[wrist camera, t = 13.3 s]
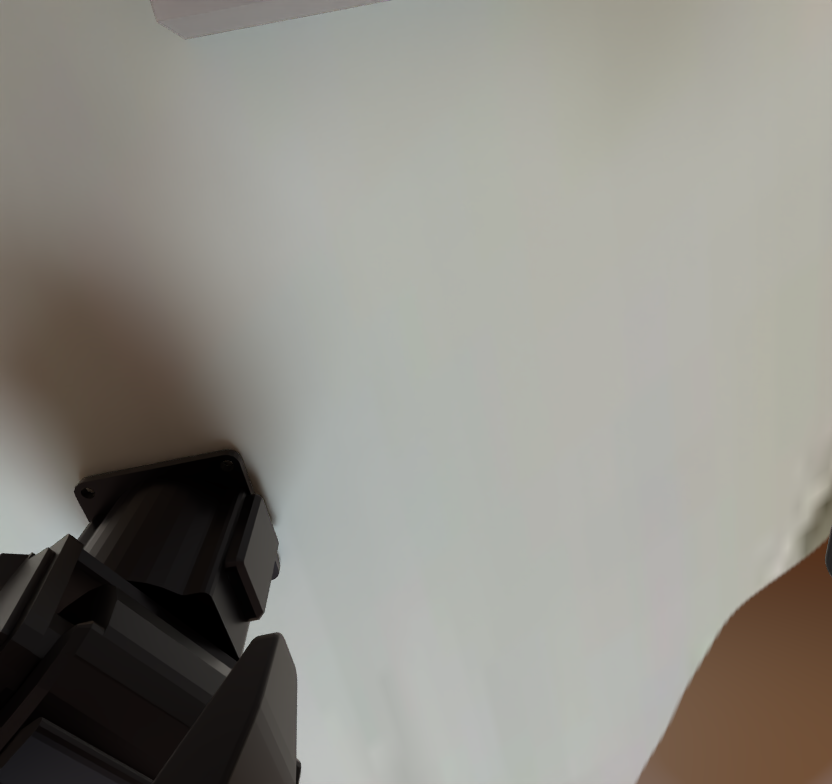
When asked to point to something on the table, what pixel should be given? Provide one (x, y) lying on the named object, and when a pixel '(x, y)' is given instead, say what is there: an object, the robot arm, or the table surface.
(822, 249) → the table surface
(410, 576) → the table surface
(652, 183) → the table surface
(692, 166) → the table surface
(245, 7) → the bottom slab
